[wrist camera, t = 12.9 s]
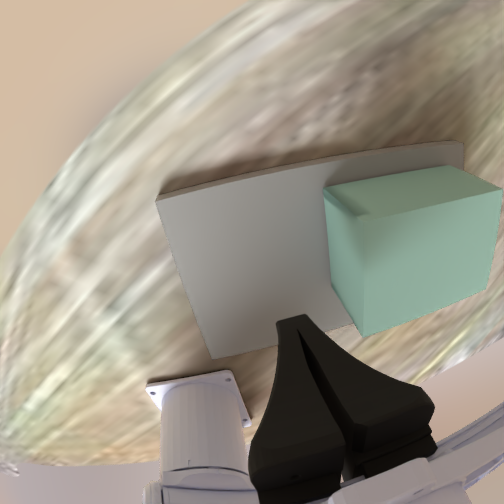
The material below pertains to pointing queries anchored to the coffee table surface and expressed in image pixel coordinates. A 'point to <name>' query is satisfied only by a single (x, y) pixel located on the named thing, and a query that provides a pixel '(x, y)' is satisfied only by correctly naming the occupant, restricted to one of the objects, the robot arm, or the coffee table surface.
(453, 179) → the block
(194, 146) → the coffee table surface
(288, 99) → the coffee table surface
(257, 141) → the coffee table surface
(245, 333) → the base
